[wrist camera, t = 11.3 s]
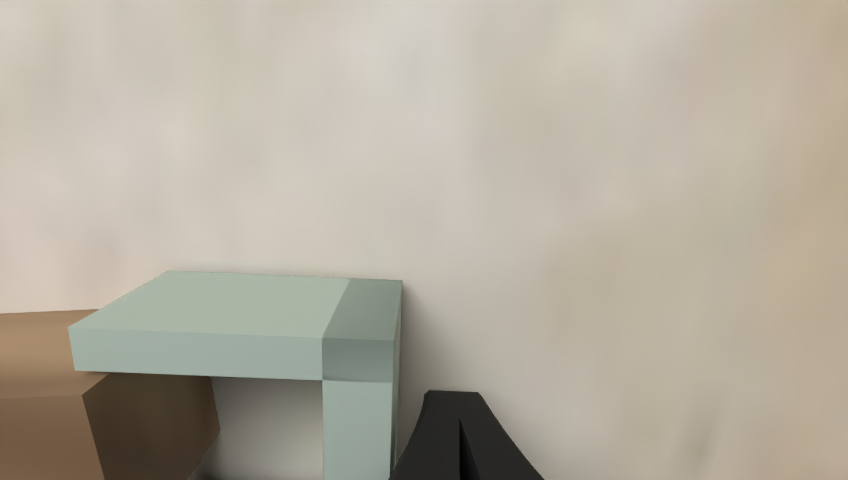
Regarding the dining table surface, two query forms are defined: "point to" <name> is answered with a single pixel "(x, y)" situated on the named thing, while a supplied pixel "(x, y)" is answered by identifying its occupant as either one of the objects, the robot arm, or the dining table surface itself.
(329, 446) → the sliding cap
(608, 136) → the dining table surface
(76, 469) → the slat
